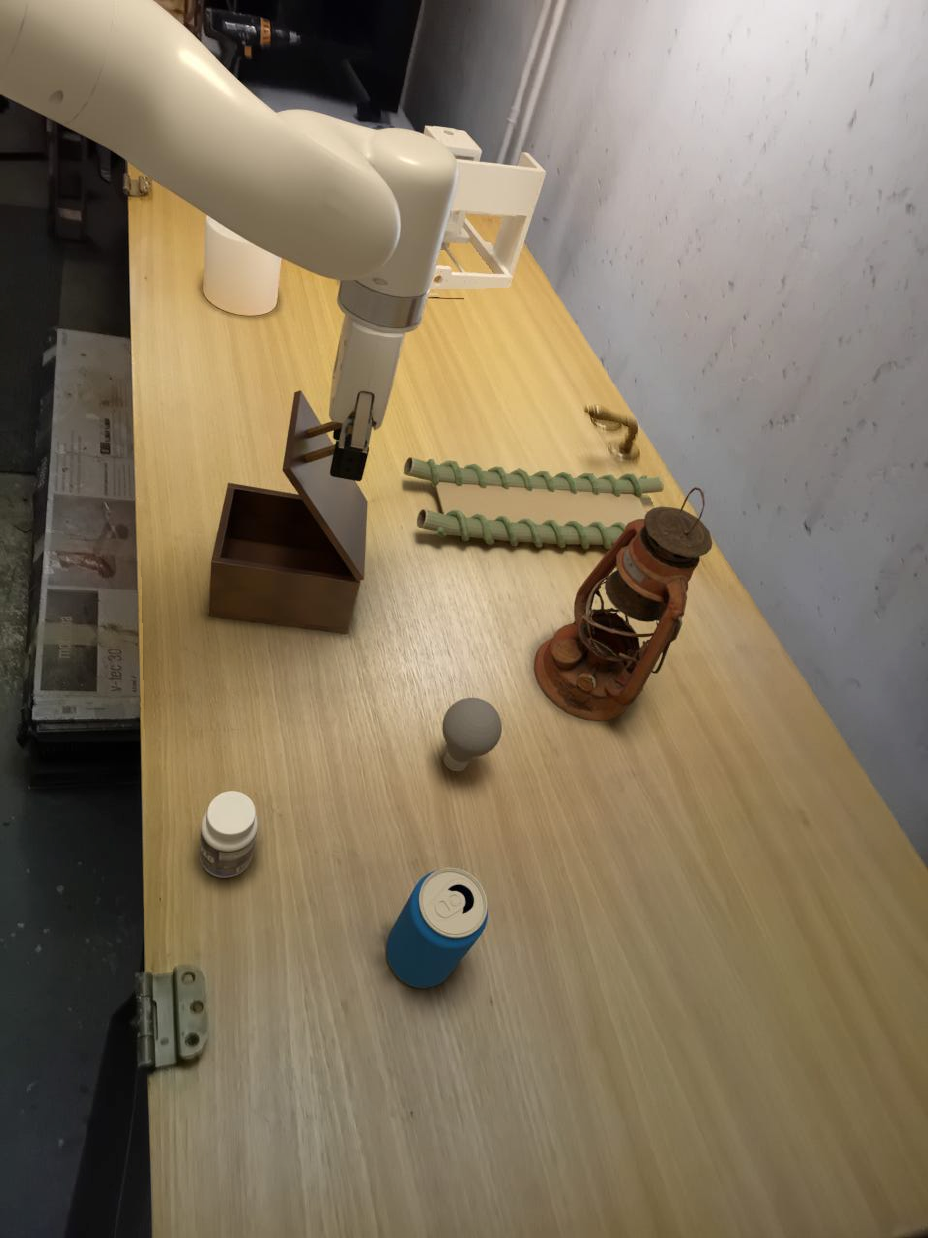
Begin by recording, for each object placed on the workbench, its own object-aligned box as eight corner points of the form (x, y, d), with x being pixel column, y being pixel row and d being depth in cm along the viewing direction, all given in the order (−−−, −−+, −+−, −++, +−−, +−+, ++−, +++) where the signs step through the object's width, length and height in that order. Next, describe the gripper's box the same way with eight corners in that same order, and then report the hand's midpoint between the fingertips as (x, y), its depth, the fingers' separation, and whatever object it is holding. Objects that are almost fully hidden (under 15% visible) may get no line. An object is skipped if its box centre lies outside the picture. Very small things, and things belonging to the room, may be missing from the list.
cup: (280, 286, 139) (288, 217, 131) (272, 322, 132) (280, 250, 123) (209, 270, 137) (212, 198, 128) (197, 305, 129) (199, 231, 120)
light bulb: (488, 783, 87) (517, 733, 80) (435, 791, 85) (460, 740, 77) (472, 735, 90) (498, 683, 83) (420, 741, 88) (443, 688, 81)
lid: (282, 470, 76) (346, 449, 75) (293, 391, 84) (352, 371, 83) (357, 581, 88) (414, 565, 87) (361, 503, 96) (413, 487, 95)
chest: (208, 615, 91) (211, 561, 85) (224, 537, 99) (228, 482, 93) (347, 634, 95) (360, 583, 88) (352, 556, 103) (364, 505, 97)
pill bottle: (194, 836, 75) (196, 792, 69) (246, 825, 77) (253, 781, 71) (204, 885, 72) (207, 844, 66) (258, 871, 74) (266, 830, 68)
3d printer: (455, 218, 176) (483, 87, 157) (519, 300, 159) (558, 165, 140) (296, 213, 161) (306, 69, 142) (348, 303, 145) (366, 153, 126)
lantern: (515, 624, 103) (609, 434, 81) (605, 620, 108) (716, 440, 86) (559, 740, 93) (679, 558, 71) (655, 730, 98) (795, 557, 76)
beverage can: (468, 966, 74) (508, 917, 65) (408, 1005, 70) (442, 958, 62) (430, 904, 77) (464, 849, 68) (371, 938, 73) (398, 885, 64)
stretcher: (415, 549, 107) (424, 522, 103) (398, 476, 115) (405, 448, 112) (681, 559, 120) (697, 535, 117) (647, 492, 129) (661, 468, 125)
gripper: (343, 237, 75) (315, 402, 88) (334, 336, 64) (303, 508, 77) (423, 258, 77) (383, 416, 90) (428, 357, 66) (381, 521, 79)
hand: (347, 457), depth 83 cm, fingers closed on lid, 5 cm apart
